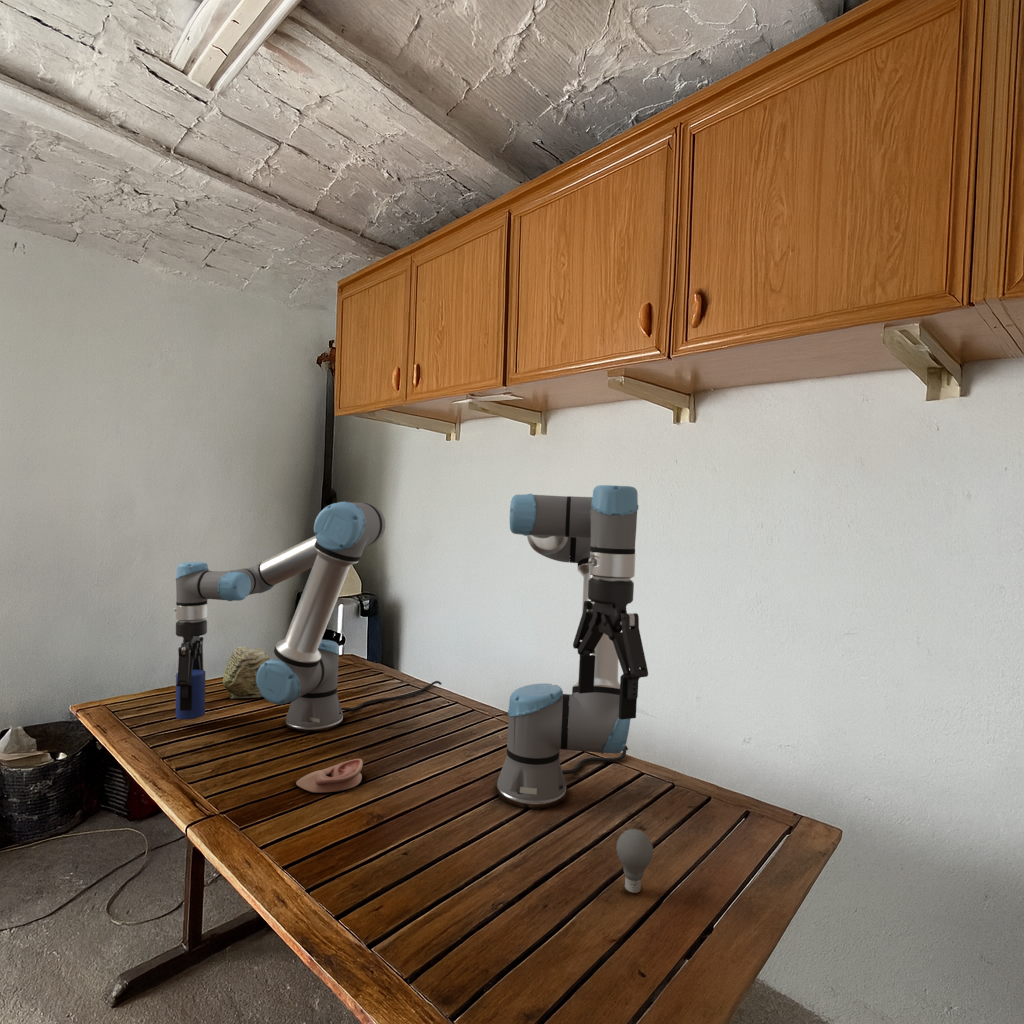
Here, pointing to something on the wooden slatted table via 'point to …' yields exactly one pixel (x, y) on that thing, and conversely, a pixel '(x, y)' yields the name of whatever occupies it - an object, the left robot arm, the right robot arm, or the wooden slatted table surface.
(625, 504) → the right robot arm
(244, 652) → the fossil
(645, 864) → the light bulb
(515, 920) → the wooden slatted table surface
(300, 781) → the anatomical model
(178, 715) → the blue cylinder
